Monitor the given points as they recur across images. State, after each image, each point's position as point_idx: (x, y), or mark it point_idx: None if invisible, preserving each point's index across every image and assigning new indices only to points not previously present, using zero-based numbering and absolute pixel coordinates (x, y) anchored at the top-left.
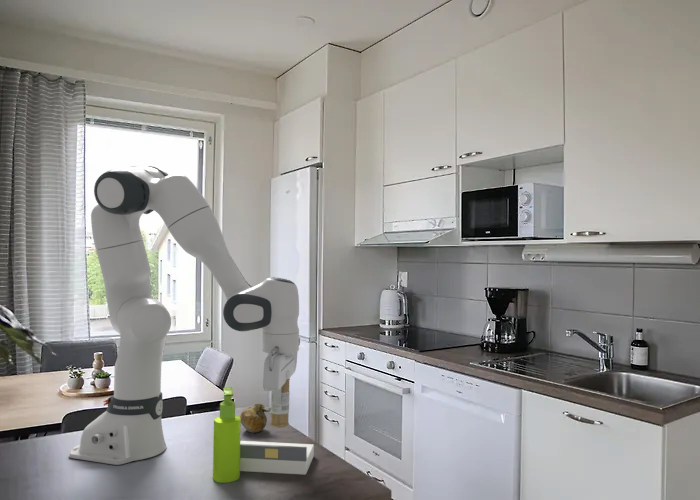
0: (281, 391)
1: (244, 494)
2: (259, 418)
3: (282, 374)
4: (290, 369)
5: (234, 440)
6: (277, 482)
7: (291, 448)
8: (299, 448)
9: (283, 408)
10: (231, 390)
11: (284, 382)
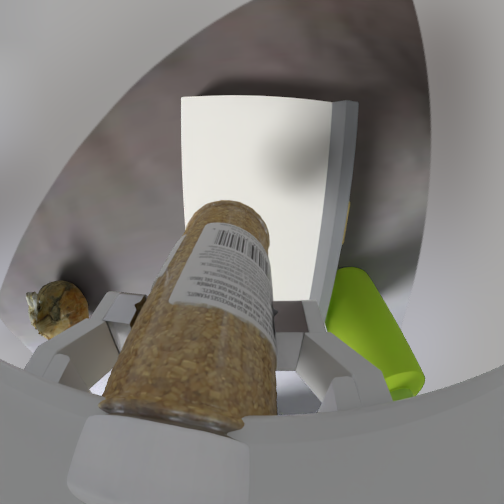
0: (271, 360)
1: (422, 236)
2: (64, 306)
3: (488, 486)
4: (8, 449)
5: (401, 334)
6: (378, 175)
7: (353, 155)
8: (355, 126)
9: (263, 262)
10: None
11: (372, 424)
